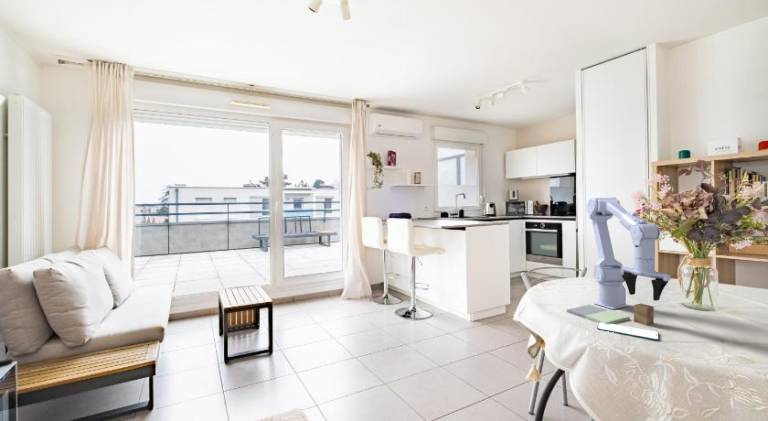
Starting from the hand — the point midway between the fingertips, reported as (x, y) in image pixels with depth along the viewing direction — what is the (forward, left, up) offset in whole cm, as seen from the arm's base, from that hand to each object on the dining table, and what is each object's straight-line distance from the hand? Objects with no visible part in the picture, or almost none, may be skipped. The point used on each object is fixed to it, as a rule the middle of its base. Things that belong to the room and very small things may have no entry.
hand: (643, 297), depth 118 cm
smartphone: (+13, +2, -10) cm, 16 cm away
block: (0, 0, -9) cm, 9 cm away
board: (+7, -12, -9) cm, 16 cm away
